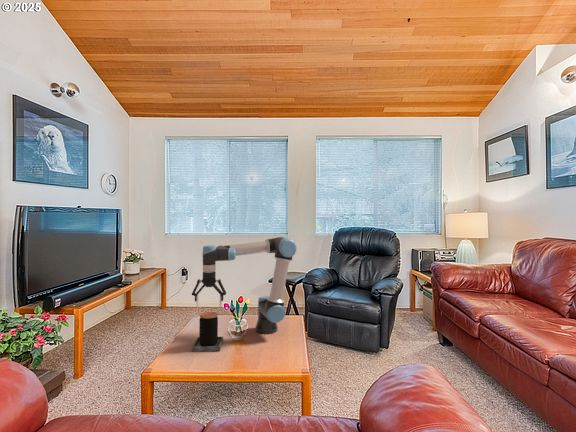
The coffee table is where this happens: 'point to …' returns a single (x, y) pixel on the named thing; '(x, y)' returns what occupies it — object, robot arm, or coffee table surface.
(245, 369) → the coffee table surface
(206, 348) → the jar stand
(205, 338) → the coffee jar
